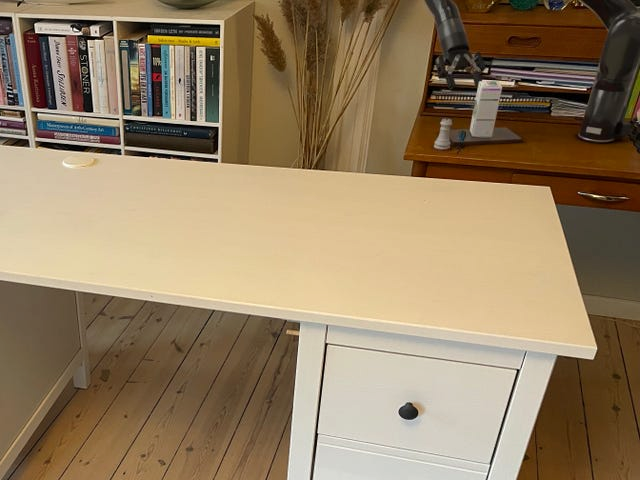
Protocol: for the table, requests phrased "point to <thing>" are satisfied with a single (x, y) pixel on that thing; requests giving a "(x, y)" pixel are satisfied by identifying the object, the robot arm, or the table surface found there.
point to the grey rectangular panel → (497, 137)
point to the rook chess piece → (443, 135)
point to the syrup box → (485, 108)
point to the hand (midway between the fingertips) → (465, 87)
